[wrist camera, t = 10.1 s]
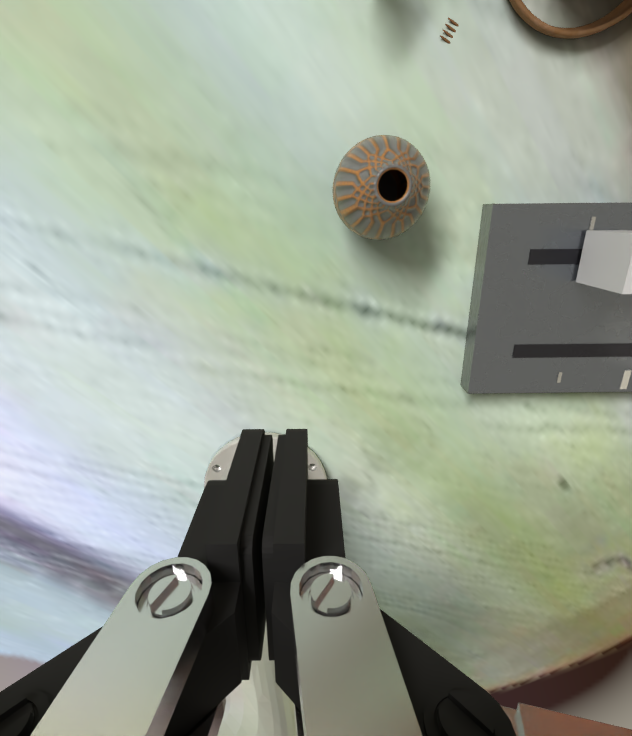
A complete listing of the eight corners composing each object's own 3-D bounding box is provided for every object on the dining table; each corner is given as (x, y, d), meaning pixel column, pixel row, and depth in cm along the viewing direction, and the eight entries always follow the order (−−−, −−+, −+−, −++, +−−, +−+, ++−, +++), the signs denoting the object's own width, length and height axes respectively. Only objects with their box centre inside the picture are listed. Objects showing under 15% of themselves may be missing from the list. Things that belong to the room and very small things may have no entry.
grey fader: (612, 282, 34) (672, 296, 28) (575, 282, 34) (628, 296, 28) (624, 229, 32) (691, 232, 27) (586, 229, 32) (644, 233, 27)
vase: (431, 205, 34) (469, 203, 26) (358, 253, 35) (372, 265, 27) (389, 124, 32) (416, 94, 24) (314, 178, 33) (315, 167, 25)
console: (711, 382, 39) (732, 391, 37) (460, 384, 39) (468, 393, 37) (775, 201, 34) (803, 201, 32) (483, 204, 34) (493, 203, 32)
